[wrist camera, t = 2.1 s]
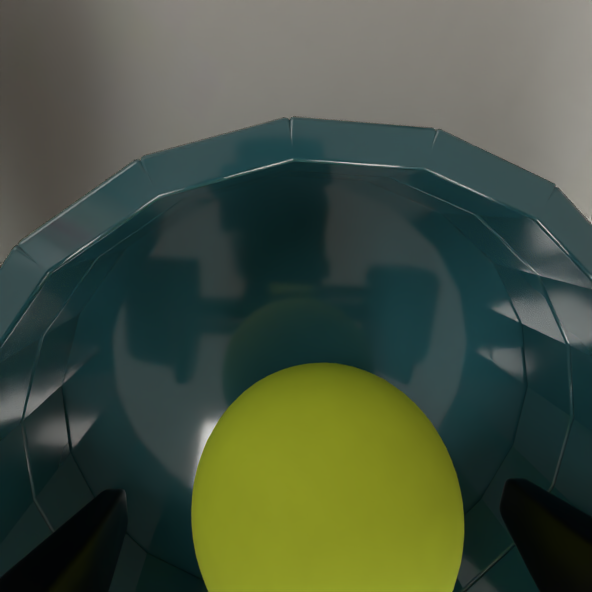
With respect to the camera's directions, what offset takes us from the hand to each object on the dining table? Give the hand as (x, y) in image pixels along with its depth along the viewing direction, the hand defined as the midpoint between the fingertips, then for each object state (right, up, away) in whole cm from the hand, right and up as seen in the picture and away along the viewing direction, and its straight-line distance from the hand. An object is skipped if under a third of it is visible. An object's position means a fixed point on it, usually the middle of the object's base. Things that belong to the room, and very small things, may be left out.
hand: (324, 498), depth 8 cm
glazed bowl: (0, +1, +4) cm, 4 cm away
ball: (0, +1, +3) cm, 3 cm away
